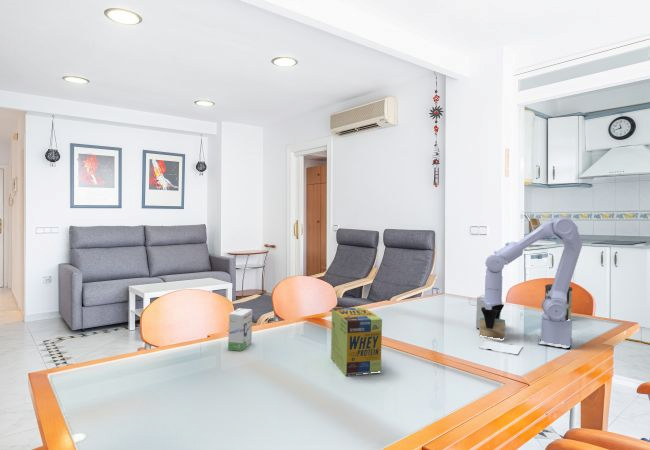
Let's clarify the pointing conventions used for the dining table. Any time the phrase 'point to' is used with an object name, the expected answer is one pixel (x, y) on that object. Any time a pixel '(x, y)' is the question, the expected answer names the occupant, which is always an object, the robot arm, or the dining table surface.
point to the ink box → (240, 329)
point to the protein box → (356, 340)
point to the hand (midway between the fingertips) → (492, 325)
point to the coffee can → (569, 299)
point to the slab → (497, 330)
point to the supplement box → (479, 312)
